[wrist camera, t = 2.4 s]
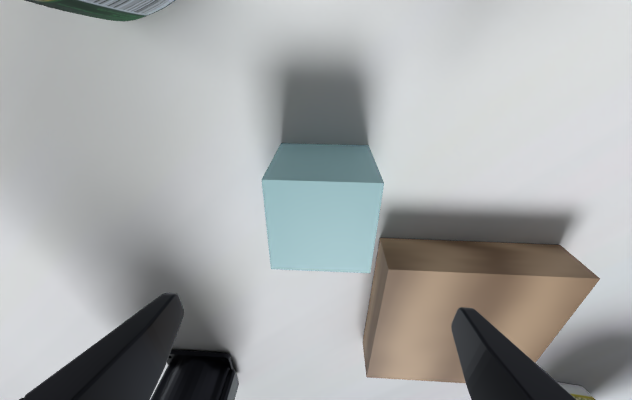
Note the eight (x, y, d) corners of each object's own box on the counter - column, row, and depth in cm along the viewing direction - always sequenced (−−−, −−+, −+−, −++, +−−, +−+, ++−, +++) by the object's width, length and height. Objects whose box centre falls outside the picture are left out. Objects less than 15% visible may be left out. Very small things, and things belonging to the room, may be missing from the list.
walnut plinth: (362, 341, 24) (366, 377, 21) (380, 237, 18) (388, 269, 15) (496, 349, 23) (517, 386, 21) (559, 244, 17) (599, 278, 15)
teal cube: (285, 215, 18) (271, 268, 13) (281, 142, 15) (261, 179, 11) (360, 217, 17) (370, 273, 13) (368, 144, 15) (383, 183, 11)
